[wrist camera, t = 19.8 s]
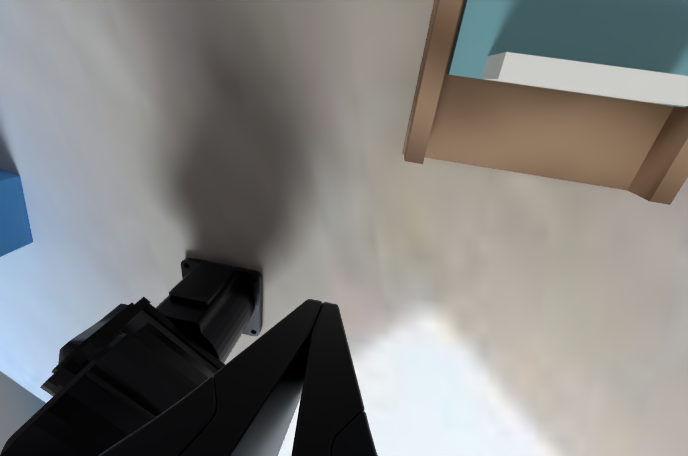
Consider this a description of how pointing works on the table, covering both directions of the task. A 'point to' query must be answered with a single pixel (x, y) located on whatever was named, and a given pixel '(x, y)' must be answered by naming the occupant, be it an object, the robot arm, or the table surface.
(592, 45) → the tray
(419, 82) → the dock
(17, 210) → the perfume bottle
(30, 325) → the table surface
